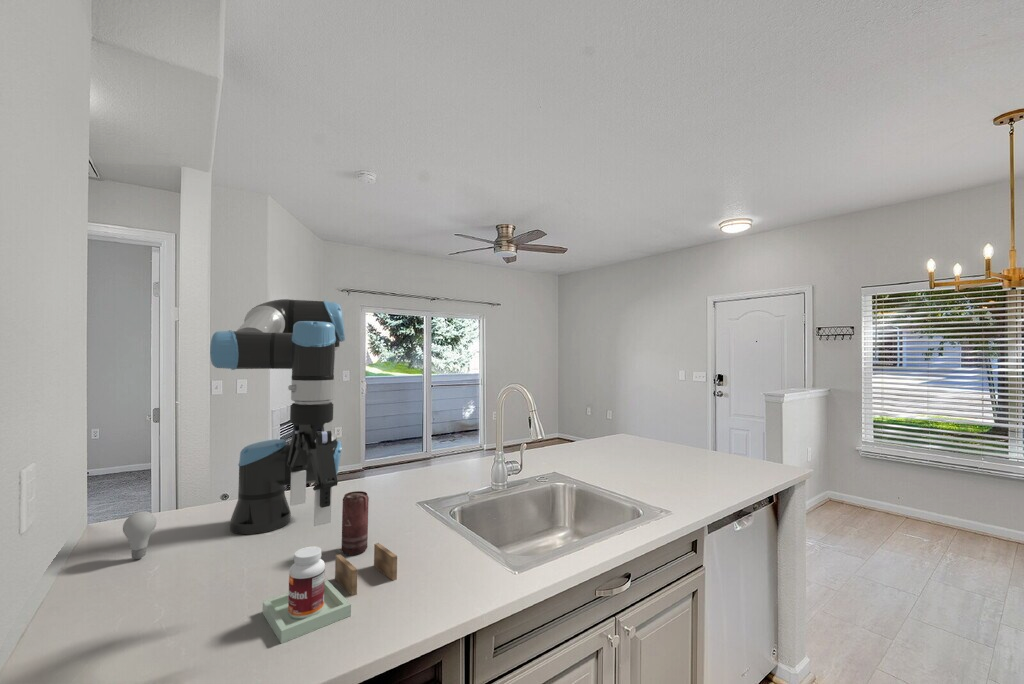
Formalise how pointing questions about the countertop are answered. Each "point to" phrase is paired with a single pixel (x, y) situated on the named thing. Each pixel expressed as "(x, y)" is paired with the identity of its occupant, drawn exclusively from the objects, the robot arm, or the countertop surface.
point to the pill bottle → (306, 583)
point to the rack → (348, 572)
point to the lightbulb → (139, 532)
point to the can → (355, 523)
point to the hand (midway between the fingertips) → (309, 513)
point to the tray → (293, 628)
